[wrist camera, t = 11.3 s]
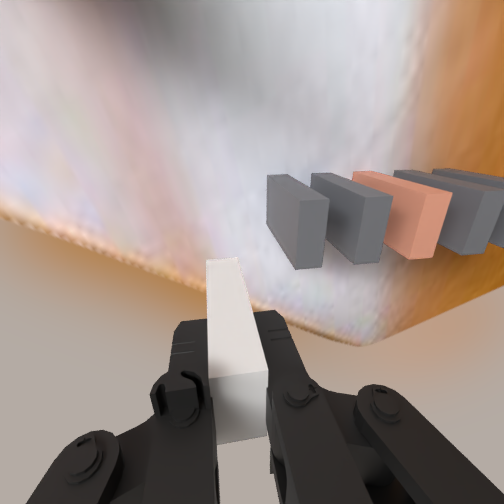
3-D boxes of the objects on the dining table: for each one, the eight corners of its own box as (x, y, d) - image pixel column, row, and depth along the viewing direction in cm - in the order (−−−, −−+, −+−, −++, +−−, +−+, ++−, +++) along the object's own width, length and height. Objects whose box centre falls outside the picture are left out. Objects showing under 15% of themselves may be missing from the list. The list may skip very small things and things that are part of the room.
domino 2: (330, 172, 27) (393, 195, 18) (325, 220, 29) (378, 262, 20) (311, 173, 26) (365, 197, 17) (307, 221, 29) (353, 264, 20)
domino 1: (287, 174, 26) (329, 199, 17) (284, 222, 28) (321, 267, 19) (267, 175, 26) (299, 200, 17) (266, 223, 28) (295, 269, 19)
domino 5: (449, 168, 29) (561, 187, 20) (436, 213, 31) (531, 249, 22) (433, 169, 28) (538, 188, 19) (420, 214, 30) (510, 251, 21)
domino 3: (371, 171, 27) (452, 192, 18) (363, 217, 29) (432, 257, 20) (353, 171, 27) (426, 193, 18) (346, 218, 29) (408, 259, 20)
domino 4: (411, 169, 28) (509, 190, 19) (400, 215, 30) (483, 253, 21) (394, 170, 28) (484, 191, 19) (384, 216, 30) (461, 255, 21)
